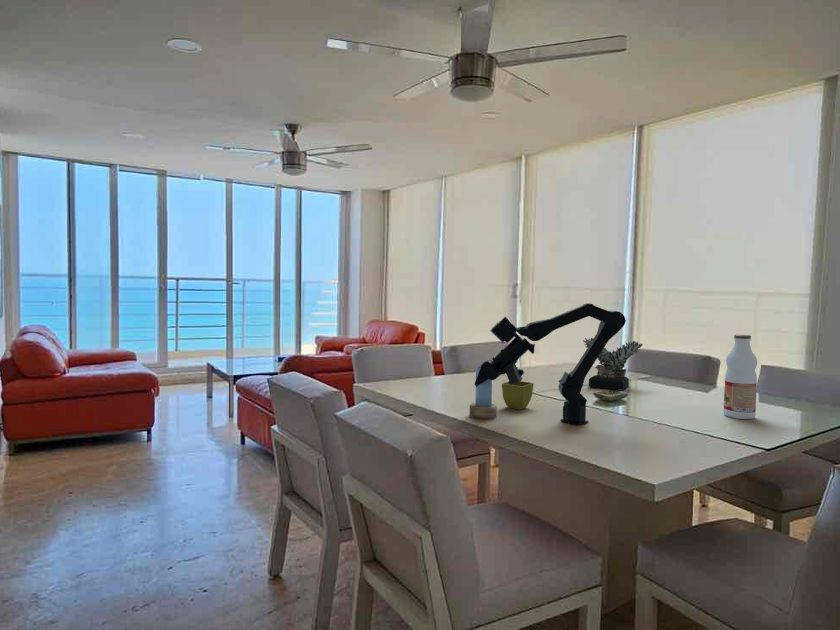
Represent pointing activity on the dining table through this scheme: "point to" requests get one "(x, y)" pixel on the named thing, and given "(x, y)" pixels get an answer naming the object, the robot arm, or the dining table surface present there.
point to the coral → (613, 366)
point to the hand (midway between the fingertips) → (479, 383)
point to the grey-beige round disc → (483, 412)
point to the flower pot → (517, 394)
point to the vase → (483, 392)
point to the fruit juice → (740, 380)
